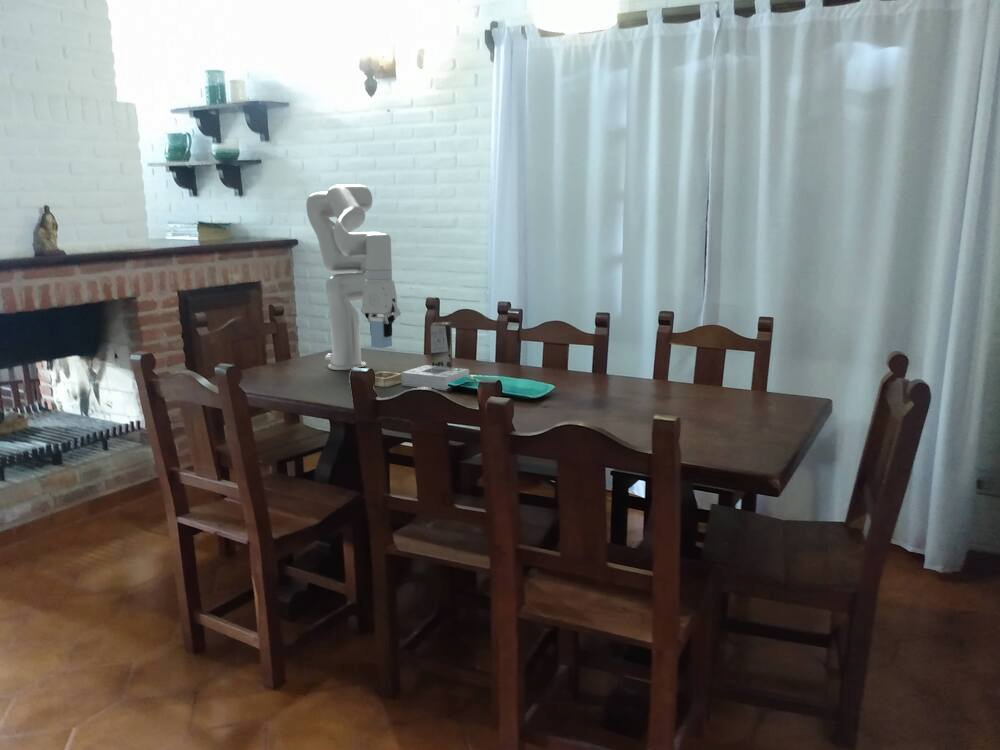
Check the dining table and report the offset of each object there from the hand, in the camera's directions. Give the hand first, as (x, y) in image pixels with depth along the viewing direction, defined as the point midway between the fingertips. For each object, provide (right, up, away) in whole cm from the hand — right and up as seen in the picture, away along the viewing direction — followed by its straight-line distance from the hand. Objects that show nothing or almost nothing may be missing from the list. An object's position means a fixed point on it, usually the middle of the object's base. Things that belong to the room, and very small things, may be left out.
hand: (381, 335), depth 231 cm
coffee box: (+17, -11, +18) cm, 27 cm away
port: (+16, -15, +1) cm, 22 cm away
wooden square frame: (0, -14, +3) cm, 15 cm away
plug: (0, -3, +1) cm, 3 cm away
